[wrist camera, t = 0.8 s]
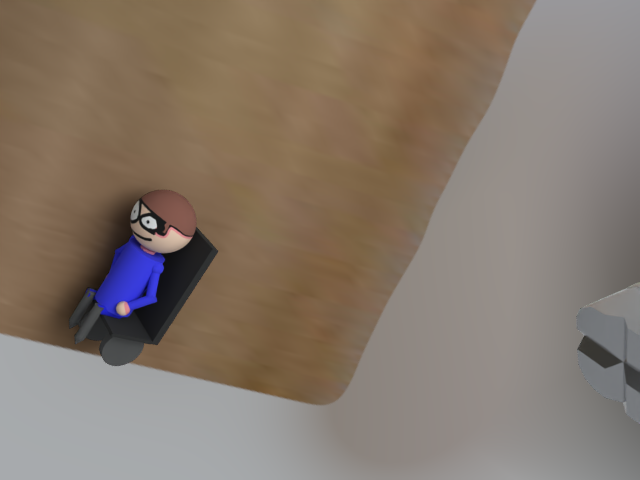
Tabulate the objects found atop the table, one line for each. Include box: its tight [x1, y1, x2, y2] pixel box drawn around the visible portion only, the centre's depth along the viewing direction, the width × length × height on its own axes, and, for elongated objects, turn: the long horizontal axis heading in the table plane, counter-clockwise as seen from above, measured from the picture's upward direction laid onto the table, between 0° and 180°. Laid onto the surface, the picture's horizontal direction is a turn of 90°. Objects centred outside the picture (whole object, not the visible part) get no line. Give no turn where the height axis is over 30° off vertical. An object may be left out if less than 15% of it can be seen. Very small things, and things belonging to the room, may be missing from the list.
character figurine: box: [69, 190, 218, 366], centre depth 46 cm, size 8×7×15 cm
